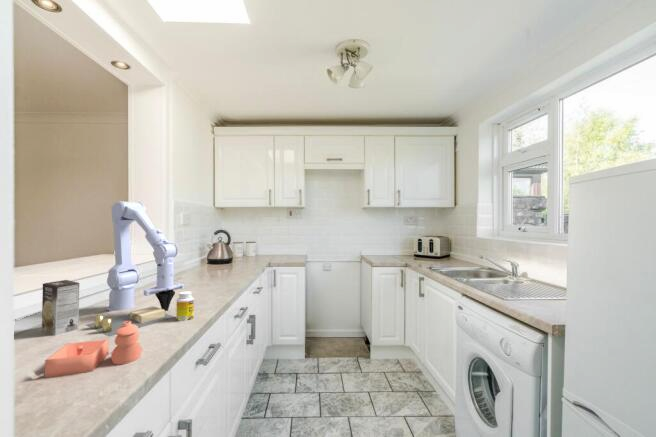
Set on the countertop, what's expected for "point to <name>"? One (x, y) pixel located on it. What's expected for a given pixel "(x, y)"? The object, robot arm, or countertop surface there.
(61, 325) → the coffee box
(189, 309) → the supplement bottle
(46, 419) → the countertop surface
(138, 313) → the cream beveled panel
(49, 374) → the pottery
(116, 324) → the board
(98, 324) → the bench dogs
